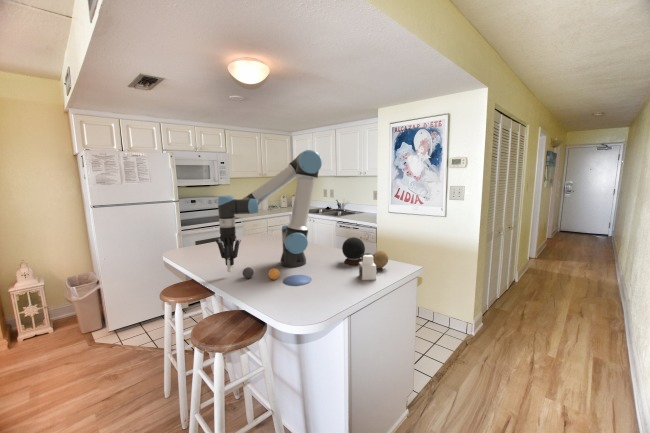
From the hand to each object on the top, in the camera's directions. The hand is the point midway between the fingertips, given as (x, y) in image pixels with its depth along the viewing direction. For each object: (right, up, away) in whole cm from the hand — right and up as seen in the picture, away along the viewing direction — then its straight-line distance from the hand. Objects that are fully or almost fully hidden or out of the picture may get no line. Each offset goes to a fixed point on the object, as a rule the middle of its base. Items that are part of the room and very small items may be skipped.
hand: (230, 271), depth 147 cm
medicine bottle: (+70, -2, -5) cm, 70 cm away
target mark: (+35, -3, -6) cm, 36 cm away
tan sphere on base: (+79, 0, +8) cm, 79 cm away
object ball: (+23, 0, -4) cm, 24 cm away
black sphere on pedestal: (+66, +1, +19) cm, 68 cm away
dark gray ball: (+10, 0, -2) cm, 10 cm away
